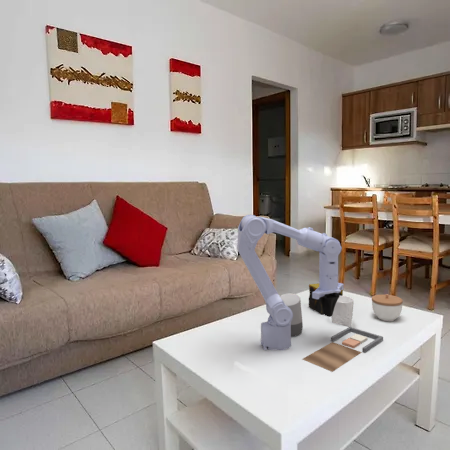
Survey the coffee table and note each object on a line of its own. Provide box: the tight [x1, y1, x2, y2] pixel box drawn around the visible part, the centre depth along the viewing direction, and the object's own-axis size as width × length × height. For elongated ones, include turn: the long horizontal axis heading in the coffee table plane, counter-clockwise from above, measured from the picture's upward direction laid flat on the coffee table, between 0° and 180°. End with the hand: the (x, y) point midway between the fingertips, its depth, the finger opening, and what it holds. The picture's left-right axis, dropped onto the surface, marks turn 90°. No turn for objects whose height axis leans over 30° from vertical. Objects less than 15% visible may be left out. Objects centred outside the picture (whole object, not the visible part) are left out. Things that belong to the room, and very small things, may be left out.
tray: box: [330, 326, 384, 354], centre depth 116 cm, size 12×12×3 cm
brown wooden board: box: [302, 341, 363, 373], centre depth 106 cm, size 16×10×2 cm, turn 131°
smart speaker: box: [279, 292, 304, 338], centre depth 124 cm, size 10×9×14 cm
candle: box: [308, 282, 344, 315], centre depth 149 cm, size 10×10×10 cm
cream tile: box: [349, 333, 368, 345], centre depth 116 cm, size 4×4×2 cm
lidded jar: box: [371, 293, 404, 322], centre depth 137 cm, size 11×11×9 cm
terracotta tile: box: [341, 337, 361, 349], centre depth 113 cm, size 4×4×2 cm
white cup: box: [331, 295, 354, 328], centre depth 132 cm, size 8×8×10 cm
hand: (328, 315), depth 115 cm, fingers closed
